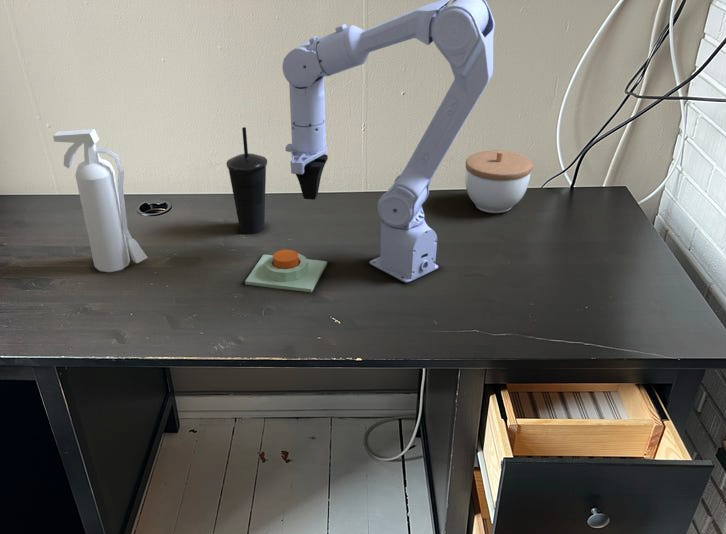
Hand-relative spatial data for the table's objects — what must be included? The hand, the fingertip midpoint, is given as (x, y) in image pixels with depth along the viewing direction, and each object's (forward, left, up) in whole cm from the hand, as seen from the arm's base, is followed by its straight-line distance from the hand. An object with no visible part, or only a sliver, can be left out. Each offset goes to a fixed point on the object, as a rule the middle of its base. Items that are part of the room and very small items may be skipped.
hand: (310, 197), depth 130 cm
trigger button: (-4, +9, -8) cm, 13 cm away
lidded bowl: (-10, -39, -11) cm, 42 cm away
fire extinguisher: (+20, +30, -11) cm, 38 cm away
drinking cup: (+15, +3, -11) cm, 19 cm away
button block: (-4, +9, -10) cm, 14 cm away
